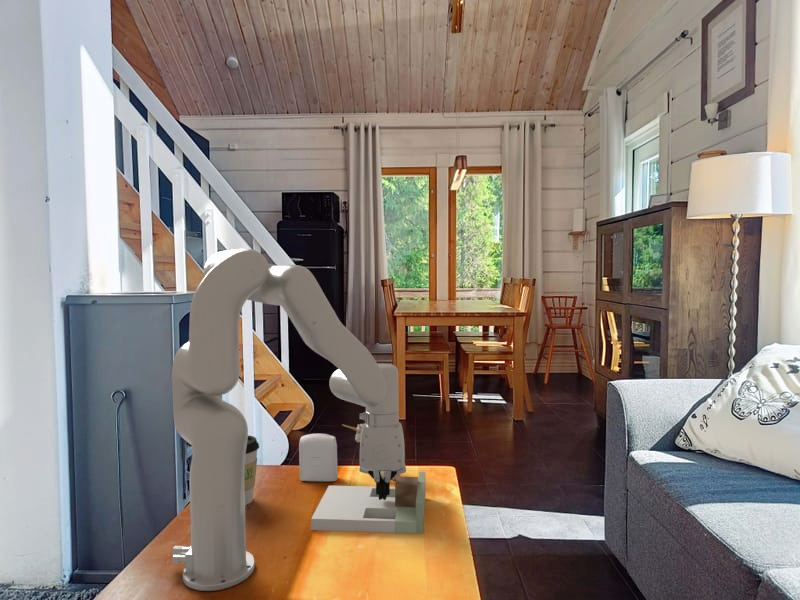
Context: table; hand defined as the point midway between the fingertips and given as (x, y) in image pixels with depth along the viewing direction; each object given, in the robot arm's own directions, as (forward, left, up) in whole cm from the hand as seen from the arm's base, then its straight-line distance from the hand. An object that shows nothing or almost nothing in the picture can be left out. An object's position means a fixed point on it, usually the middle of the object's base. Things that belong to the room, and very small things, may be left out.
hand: (383, 497), depth 121 cm
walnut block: (+5, 0, -1) cm, 6 cm away
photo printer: (-20, +19, -4) cm, 27 cm away
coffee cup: (-36, +4, -4) cm, 36 cm away
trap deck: (-3, 0, -4) cm, 4 cm away
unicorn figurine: (-6, +21, -4) cm, 22 cm away
